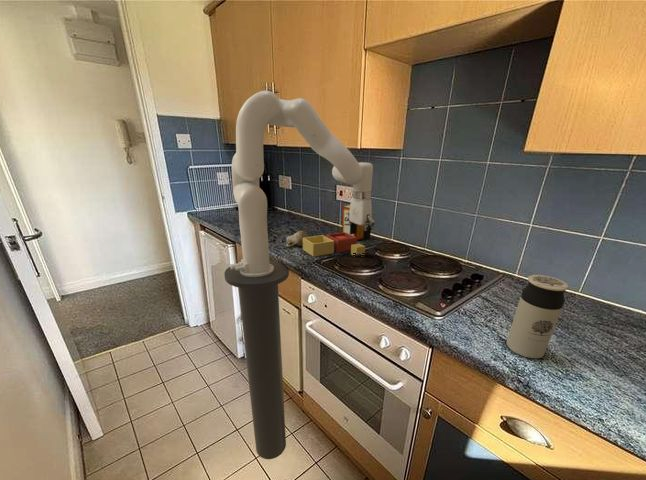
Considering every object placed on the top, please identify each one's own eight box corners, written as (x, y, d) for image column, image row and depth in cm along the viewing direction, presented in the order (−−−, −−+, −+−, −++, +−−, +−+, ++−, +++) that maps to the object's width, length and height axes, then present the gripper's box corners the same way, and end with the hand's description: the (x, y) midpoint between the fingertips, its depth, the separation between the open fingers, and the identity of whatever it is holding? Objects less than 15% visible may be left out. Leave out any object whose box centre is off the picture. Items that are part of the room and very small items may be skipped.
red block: (339, 248, 136) (339, 239, 135) (334, 245, 140) (334, 236, 138) (347, 247, 138) (348, 238, 137) (342, 244, 142) (342, 235, 140)
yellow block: (356, 257, 128) (357, 247, 126) (350, 254, 131) (351, 244, 129) (364, 255, 130) (365, 246, 128) (358, 252, 133) (359, 243, 132)
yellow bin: (313, 256, 127) (313, 244, 125) (302, 249, 135) (302, 237, 133) (333, 253, 132) (334, 241, 130) (322, 246, 140) (322, 235, 138)
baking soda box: (341, 236, 156) (342, 205, 149) (350, 234, 160) (351, 204, 153) (355, 240, 150) (357, 208, 143) (363, 238, 154) (365, 207, 147)
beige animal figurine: (288, 241, 145) (299, 224, 142) (303, 253, 143) (314, 236, 140) (280, 242, 139) (291, 224, 135) (296, 254, 136) (307, 236, 133)
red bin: (337, 252, 133) (337, 240, 131) (326, 245, 141) (326, 234, 139) (356, 249, 138) (357, 237, 136) (344, 243, 146) (344, 232, 144)
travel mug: (504, 335, 78) (524, 271, 70) (540, 343, 75) (564, 278, 68) (507, 353, 71) (530, 285, 64) (547, 363, 68) (575, 292, 61)
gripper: (342, 192, 125) (341, 232, 132) (367, 199, 112) (364, 243, 119) (357, 191, 129) (355, 230, 136) (382, 198, 115) (379, 240, 122)
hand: (359, 236), depth 127 cm, fingers open, 9 cm apart
